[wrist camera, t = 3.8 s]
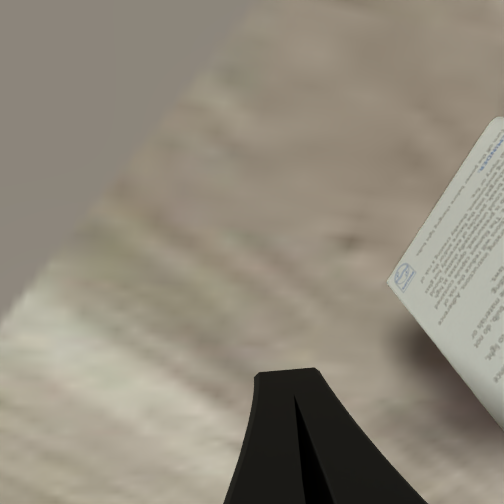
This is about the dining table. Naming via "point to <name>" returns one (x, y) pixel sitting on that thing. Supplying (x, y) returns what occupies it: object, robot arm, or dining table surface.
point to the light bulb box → (464, 272)
